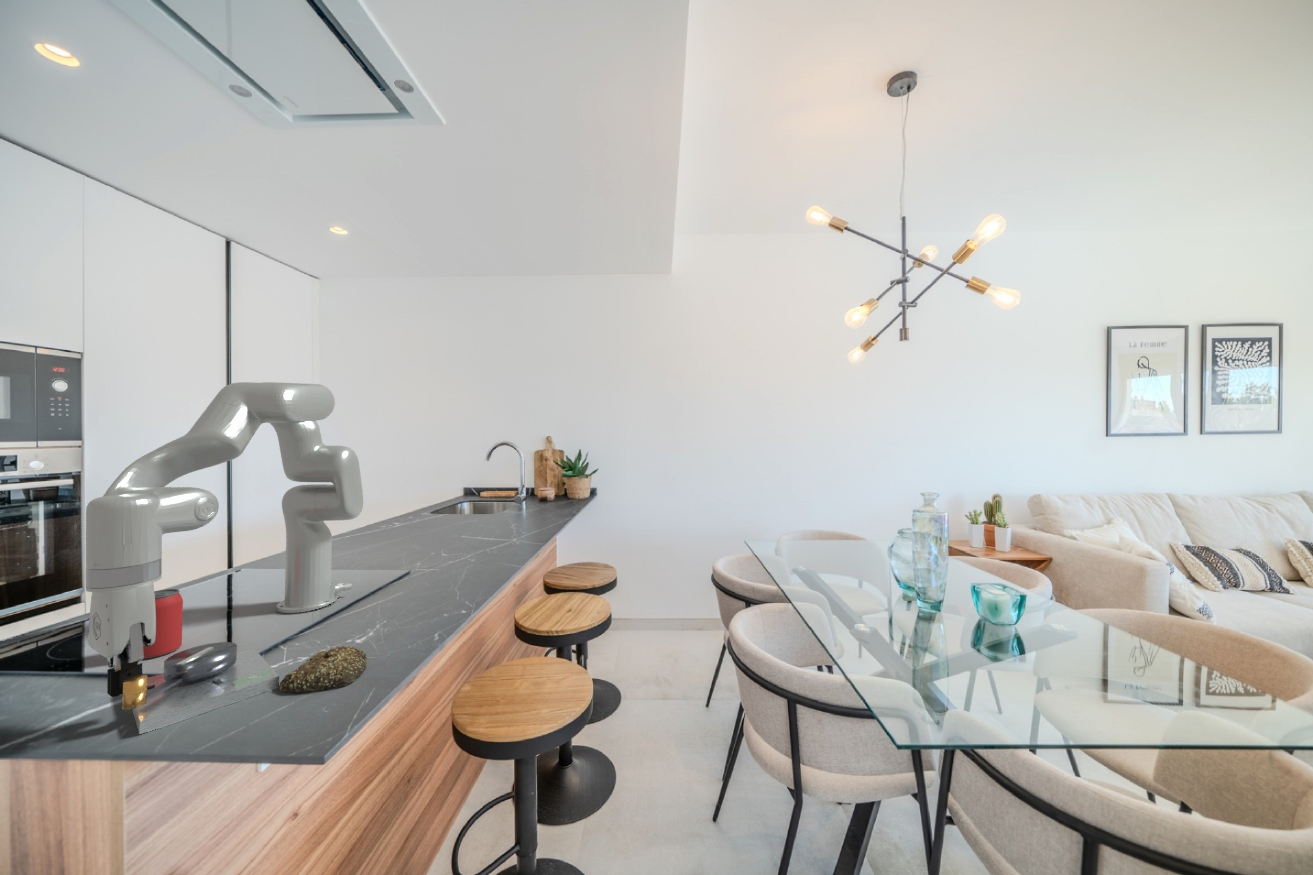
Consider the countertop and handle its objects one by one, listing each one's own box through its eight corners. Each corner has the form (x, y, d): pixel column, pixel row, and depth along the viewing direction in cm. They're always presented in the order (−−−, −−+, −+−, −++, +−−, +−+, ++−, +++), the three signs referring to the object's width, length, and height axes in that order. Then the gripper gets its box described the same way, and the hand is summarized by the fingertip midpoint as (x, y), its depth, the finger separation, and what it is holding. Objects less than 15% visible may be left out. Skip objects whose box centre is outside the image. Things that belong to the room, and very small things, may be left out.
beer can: (148, 662, 85) (150, 600, 86) (123, 658, 87) (125, 597, 87) (190, 646, 92) (191, 589, 92) (166, 643, 93) (168, 586, 93)
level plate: (253, 658, 88) (253, 644, 88) (279, 687, 78) (279, 672, 78) (128, 694, 75) (128, 679, 75) (139, 735, 65) (139, 717, 65)
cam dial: (197, 656, 82) (198, 635, 82) (249, 655, 83) (250, 633, 83) (92, 711, 66) (93, 684, 66) (159, 708, 67) (159, 681, 67)
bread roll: (348, 692, 77) (349, 663, 77) (267, 698, 75) (268, 669, 75) (380, 656, 90) (380, 632, 90) (312, 661, 87) (312, 636, 87)
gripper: (71, 573, 68) (71, 690, 69) (103, 590, 62) (103, 720, 62) (143, 560, 75) (142, 667, 75) (179, 575, 68) (179, 692, 69)
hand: (125, 690), depth 69 cm, fingers closed
